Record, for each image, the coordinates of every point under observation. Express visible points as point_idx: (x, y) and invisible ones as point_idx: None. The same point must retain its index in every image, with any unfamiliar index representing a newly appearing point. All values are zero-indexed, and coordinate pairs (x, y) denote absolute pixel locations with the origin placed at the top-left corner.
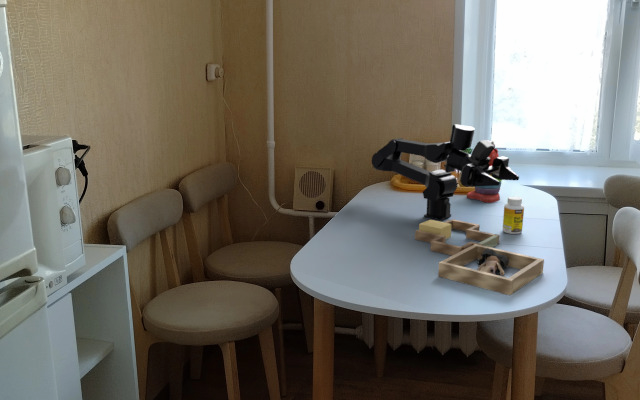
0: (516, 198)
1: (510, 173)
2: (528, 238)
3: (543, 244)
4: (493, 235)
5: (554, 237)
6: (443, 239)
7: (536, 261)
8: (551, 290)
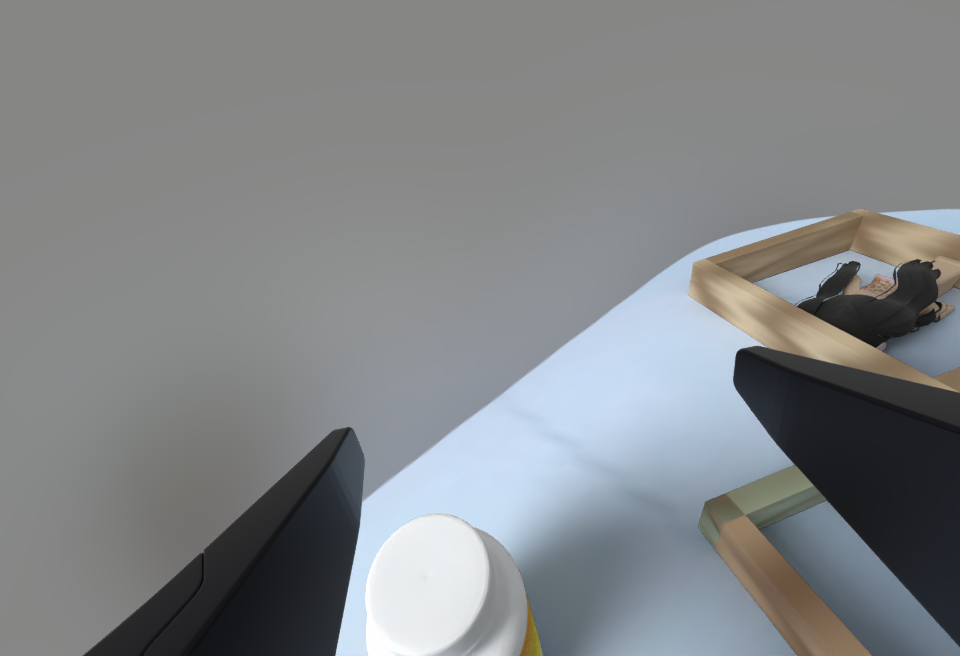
0: (427, 555)
1: (302, 544)
2: (500, 523)
3: (508, 440)
4: (747, 513)
5: (397, 481)
6: None
7: (725, 257)
8: (726, 245)
